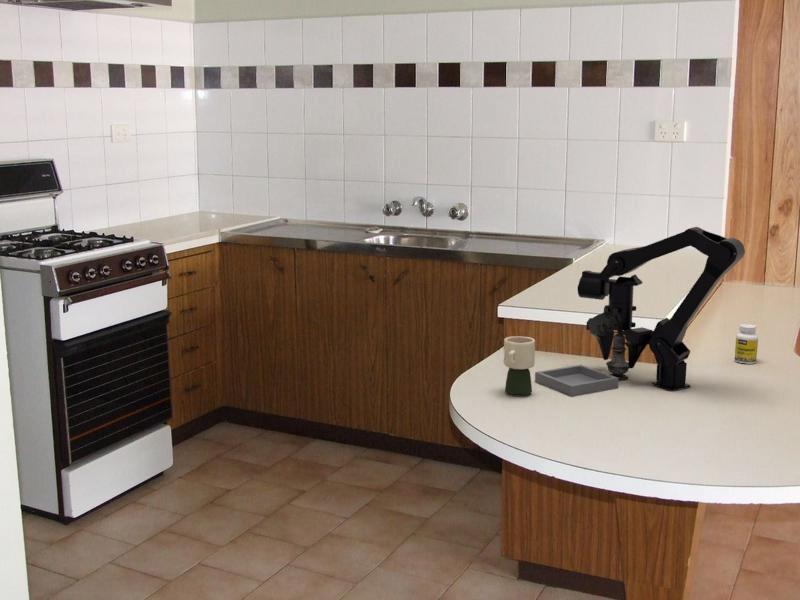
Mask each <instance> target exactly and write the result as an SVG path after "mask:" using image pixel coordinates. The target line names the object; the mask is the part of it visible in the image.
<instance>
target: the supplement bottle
mask: <svg viewBox="0 0 800 600" xmlns="http://www.w3.org/2000/svg"><path fill="white" fill-rule="evenodd" d="M756 331H757V326H756V325H754V324H748V323H745V324H744V323H741V324H739V332H738V333H736V337H735V349H734V362H735V363H737V362H739V363H738V364H741V363H746V364H745V365H754V364H756V363H757V360H758V359H757V357H758V343H759V335H758V334H756ZM753 363H754V364H753Z"/></svg>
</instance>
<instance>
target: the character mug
mask: <svg viewBox="0 0 800 600" xmlns="http://www.w3.org/2000/svg"><path fill="white" fill-rule="evenodd" d="M503 345H504V346H503V350H504V354H503V355H504V357H503V365H504V366H505V367H506V368H508V370H507V373H506V374H507V375H506V379H505V388H504V392H505V393H507V394H514V395H515V396H517V395H530V394H532V393H533V389H532V387H533V386H532V379H531V378H532V376H531V371H530V369H532V368H534V367H535V364H536V363H535V361H536V360H535V357H536V356H535V355H536V340H535V339H534V338H532V337H529V336H518V335H516V336H515V335H514V336H506V337H505V338H504V339H503Z"/></svg>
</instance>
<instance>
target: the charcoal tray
mask: <svg viewBox="0 0 800 600" xmlns="http://www.w3.org/2000/svg"><path fill="white" fill-rule="evenodd" d="M534 373H535V374H534V383H536V384H539V385H542V386H544V387H546V388H548V389H551V390H554V391H556V392H559V393H561V394H563V395H566V396H569V397H571V398H572V397H577V396H583V395H588V394H593V393H599V392H603V391H610V390H611V391H612V390H616V389H618V388H619V381H618V379H619V378H617V377H614V376H611V375H610V373H609V374H608V373H606V372H603V371H600V370H597V369H595V368H592V367H588V366H587V365H586V366H585V365H583V364H577V365H571V366H565V367H557V368H552V369H546V370H540V371H535V372H534Z"/></svg>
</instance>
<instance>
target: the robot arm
mask: <svg viewBox="0 0 800 600" xmlns="http://www.w3.org/2000/svg"><path fill="white" fill-rule="evenodd" d="M688 247H691V248H694V249H695V250H696V251H699V252H700V253H701V254H703V255H705V256H707V259H706V261H705V265H704V269H703V271H702V273H701V274H700V276H699V277H698V278H697V280H696V281H695V283H694V284H693V286H692V287H691V289H689V292H687V294H686V296H685V297H684V299H683V300H682V302H681V303H680V305H679V306H678V308H677V309H676V310H675V312H674V313H673V315H672V316H671V318H668V317H665V318H663V319H661V320H659V321H658V322H656V325H655V327H654V329H649V328H645V327H643V326H642V327H636V324H637V323H636V322H633V312H635V311H637V306H636V305H634V287H637V286H639V285H642V284H643V280H642V279H640V278H639V277H638V276H637V274H633V275H631V276H630V277H629V276H624V275H627V274H629V273H632V272H634V271H636V270H637V269H639V268H640V267H642V266H644V265H645V264H647V263H649V262H650V261H652V260H654V259H657V258H660V257H662V256H666V255H669V254H672V253H674V252H676V251H679V250H682V249H685V248H688ZM745 252H746V250H745V245H744V244H743V242H742V241H741V240H739V239H737V238H735V237H730V238H727V237H724V236H722V235H719V234H716V233H714V232H710V231H707V230H705V229H704V228H701V227H700V226H693V227H690V228H687V229H685V230H684V231H683V232H680V233H676V234H674V235H671V236H669V237H666V238H663V239H660V240H657V241H655V242H653V243H650V244H647V245H645V246H640V247H639V246H638V247H631V248H626V249H622V250H619V251H616V252H613V253H611V254H610V255H608V257H607V260H606V265H605V266H604V268H602V270H601V271H600V272H597V271H591V270H587V269H586V270H584V271H581V277H580V278H579V281H578V285H577V294H578V297H579V298H582V299H592V300H593V299H594V300H599V301H601V300H602V301H603V300H604V299H606V297H608V304H606V305H604V308H603V312H602V313H599V314H597V315H595V316H594V317H589V318H588V320H587V321H586V327H585V328H586V330H588V331H589V333H590V334H591V335H592V336H594V337H595V338H596V339H597V343H598V345H599V348H600V351H601V355H602V358H603V360H604V361H609V358H610V353H611V350H612V349H611V348H612V347H613V337H614V335H615V333H616V334H618V333H619V334H622V335H624V336H625V342H624V343H625V347H627V351H628V353H627V358H628V361H627V362H628V364H629V369H634V367H635V365H636V364H637V362H638V360H639V358H640V357H641V356H642V355H641V354H642V353H643V352H644V350H645V349H646V348H647V345H648V347H649V349H650V351H651V353H653V356H654V358H655V362H656V374H655V375H656V377H655V381H652V382H651V385H652V386H656V387H659V388H661V389H664V390H667V391H676V390H682V389H686V388H687V389H688V388H691V385H690V384H689V383H686V380H687V367H688V366H687V362H685V360H687V359H688V358H689V356H690V355H691V354H690V353H691V350H690V349H689V348H688V347H687V345H686V344H685V343H684V342H683V340H684V337H685V336H686V332H687V329H688V326H689V324H690V323H691V321H692V320H693V318H694V317H695V316H696V314H697V312H698V311H699V310H700V308H701V307H702V305H704V303H705V301H706V300H707V299H708V297H709V296H710V294H711V293H712V292H713V289H714V288H715V287H716V286H717V284H718V283H719V281H720V280H721V279H722V278H723V277H724V276H725V275H726V274H727V273H728V272H730V271H731V270H732V269H733V268H734V267H735V266H736V265H737V264H738V263H739V262H740V261H741V260H742V259H743V258H744V256H745ZM614 277H618V278H617V279H614Z"/></svg>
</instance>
